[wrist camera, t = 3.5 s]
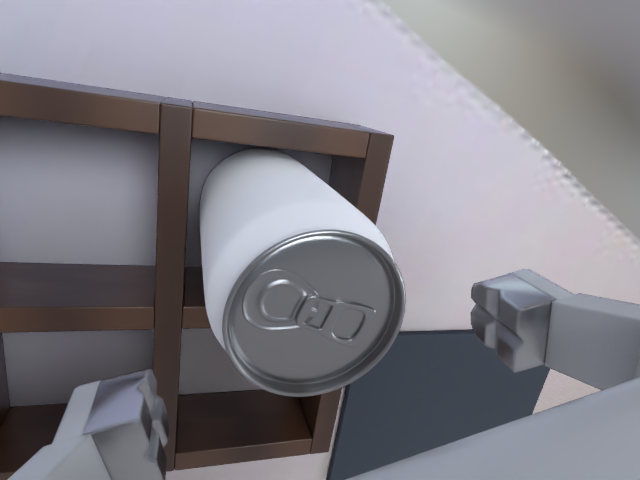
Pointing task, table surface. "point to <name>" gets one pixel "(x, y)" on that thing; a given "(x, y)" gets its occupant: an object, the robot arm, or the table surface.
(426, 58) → the table surface
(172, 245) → the crate
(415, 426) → the mat
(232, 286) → the can
